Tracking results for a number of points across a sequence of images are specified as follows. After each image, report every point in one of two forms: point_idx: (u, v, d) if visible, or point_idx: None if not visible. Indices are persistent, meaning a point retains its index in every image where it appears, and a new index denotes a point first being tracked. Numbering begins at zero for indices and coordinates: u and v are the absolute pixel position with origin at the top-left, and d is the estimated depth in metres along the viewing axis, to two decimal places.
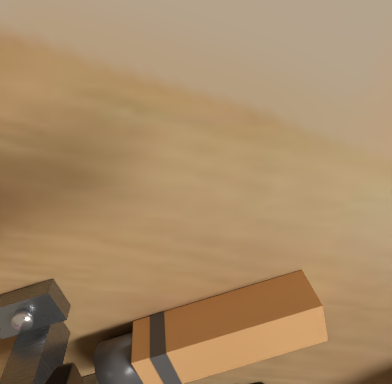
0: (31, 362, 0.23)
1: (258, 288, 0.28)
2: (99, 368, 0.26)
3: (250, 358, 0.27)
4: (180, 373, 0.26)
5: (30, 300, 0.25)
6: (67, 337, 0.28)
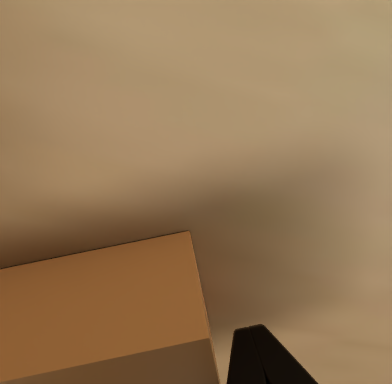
0: None
1: (59, 268, 0.10)
2: None
3: None
4: None
5: None
6: None
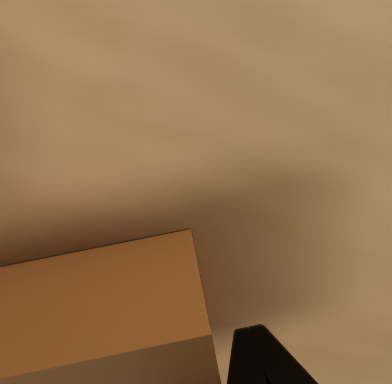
0: None
1: (61, 266, 0.10)
2: None
3: None
4: None
5: None
6: None
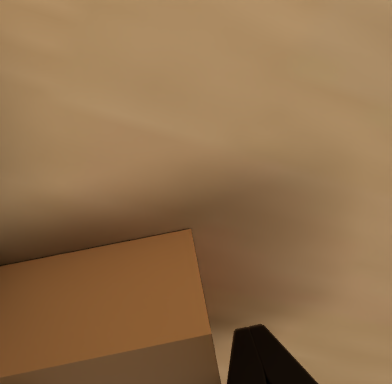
0: None
1: (61, 265, 0.10)
2: None
3: None
4: None
5: None
6: None
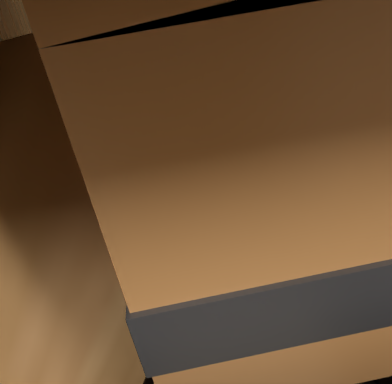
0: None
1: None
2: None
3: None
4: (322, 259, 0.05)
5: None
6: None
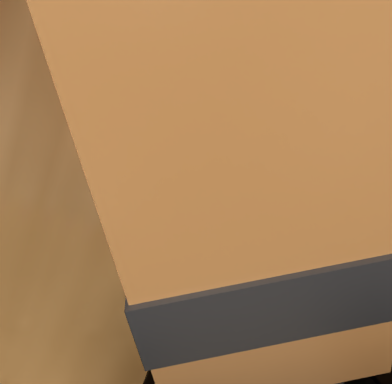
0: None
1: None
2: None
3: None
4: (321, 254, 0.05)
5: None
6: None
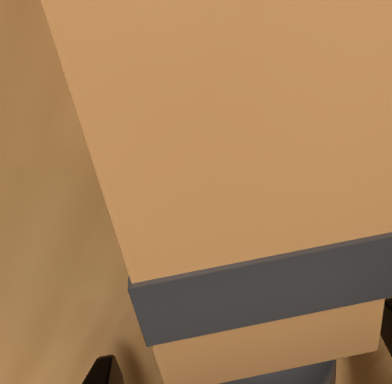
0: None
1: None
2: None
3: None
4: (309, 235, 0.05)
5: None
6: None
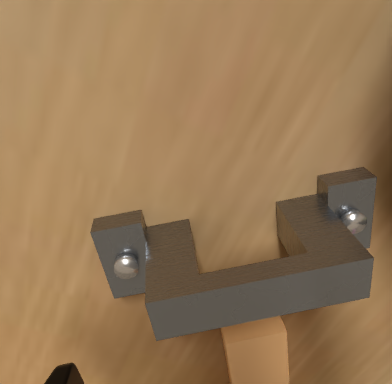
0: None
1: None
2: None
3: None
4: None
5: (101, 251, 0.20)
6: (186, 225, 0.21)
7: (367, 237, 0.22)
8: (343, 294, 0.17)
